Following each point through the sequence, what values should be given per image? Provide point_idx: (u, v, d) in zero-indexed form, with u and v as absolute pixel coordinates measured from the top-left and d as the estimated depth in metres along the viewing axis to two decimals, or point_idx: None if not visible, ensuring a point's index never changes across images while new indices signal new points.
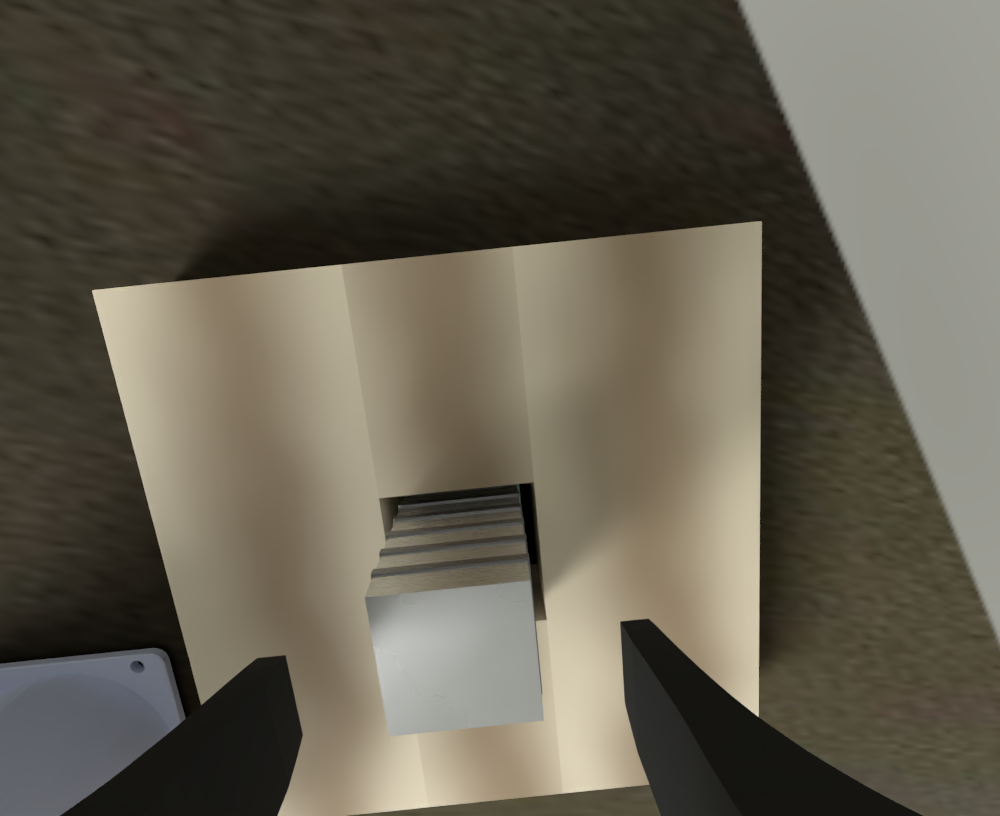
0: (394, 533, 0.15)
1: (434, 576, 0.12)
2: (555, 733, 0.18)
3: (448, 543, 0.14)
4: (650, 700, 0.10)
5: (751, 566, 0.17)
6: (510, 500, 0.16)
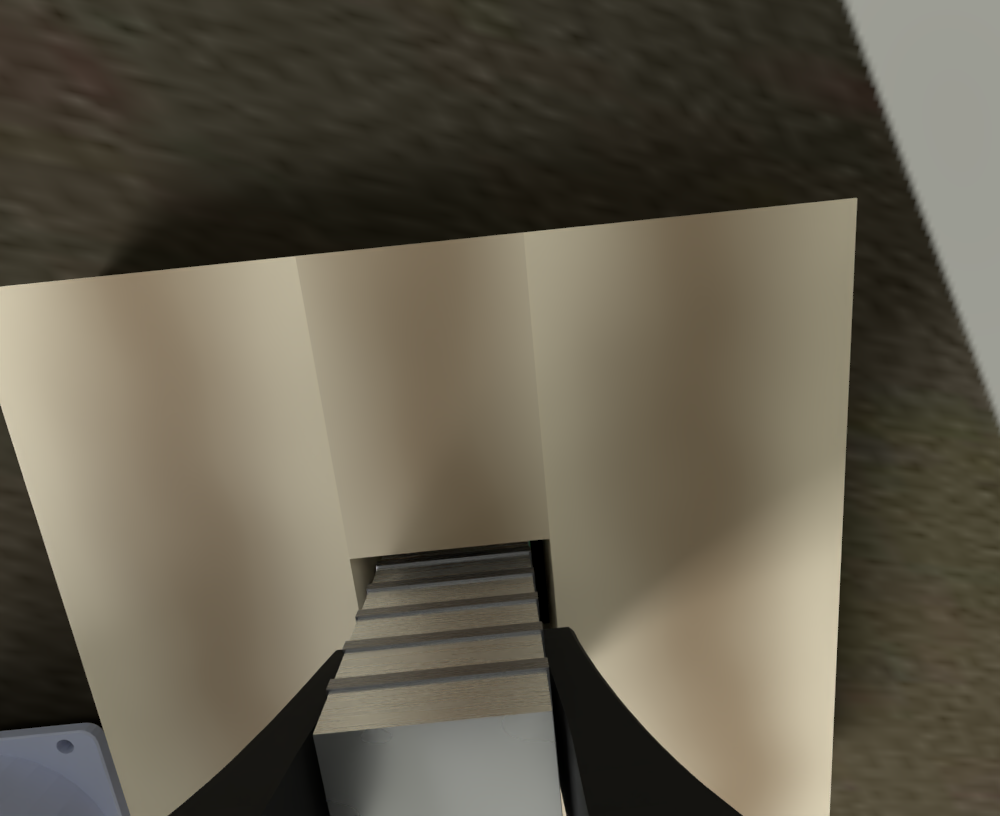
0: (366, 613, 0.11)
1: (414, 696, 0.09)
2: None
3: (436, 634, 0.10)
4: (555, 709, 0.10)
5: (826, 643, 0.13)
6: (519, 561, 0.12)
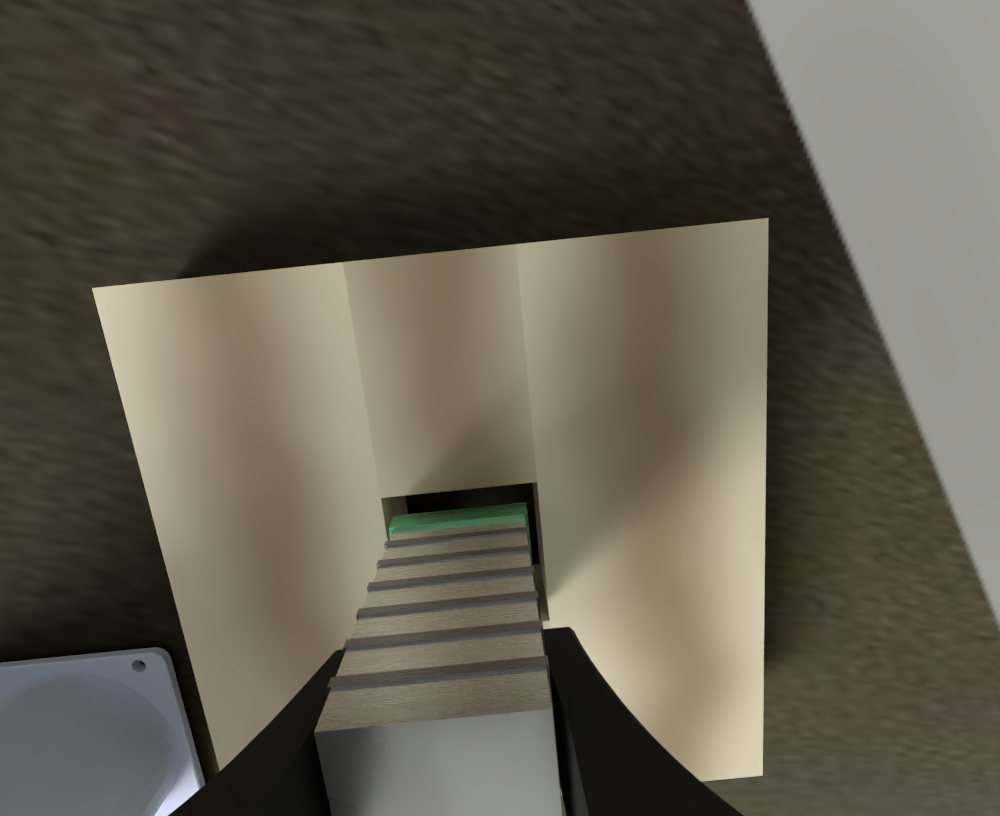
0: (367, 611, 0.11)
1: (415, 694, 0.09)
2: None
3: (437, 632, 0.10)
4: (556, 709, 0.10)
5: (756, 567, 0.17)
6: (520, 560, 0.13)
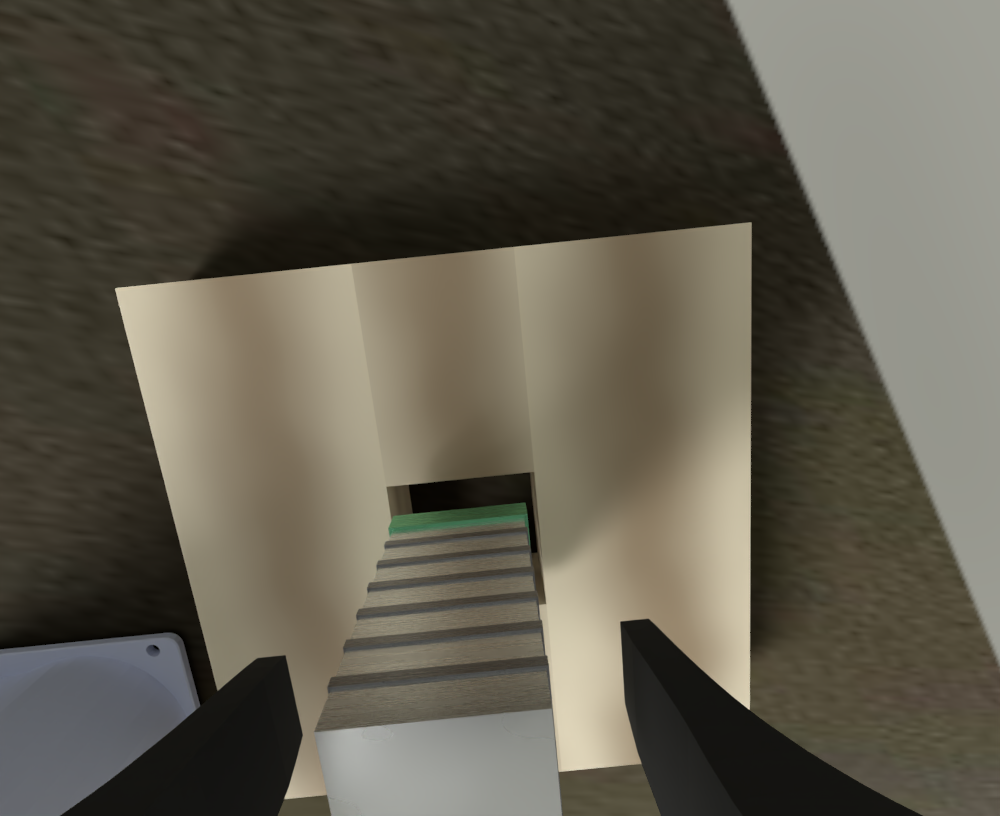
0: (367, 612, 0.11)
1: (415, 694, 0.09)
2: (554, 713, 0.19)
3: (437, 633, 0.10)
4: (650, 700, 0.10)
5: (742, 553, 0.18)
6: (519, 560, 0.13)
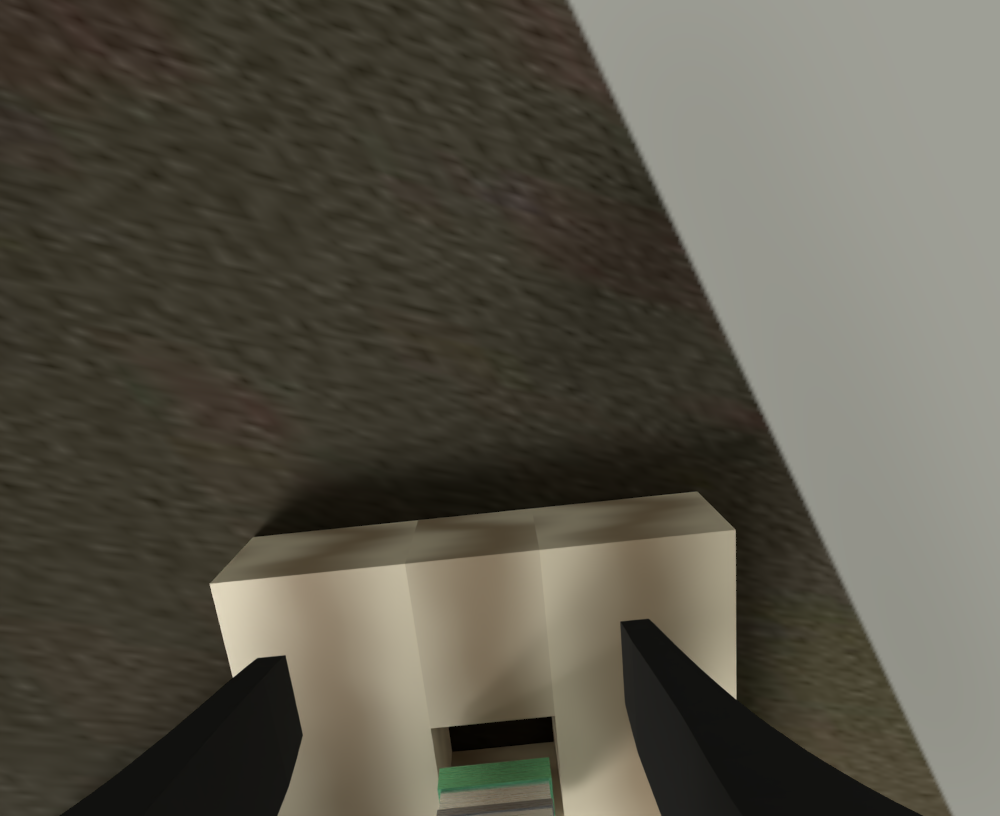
0: None
1: None
2: None
3: None
4: (650, 700, 0.10)
5: None
6: None
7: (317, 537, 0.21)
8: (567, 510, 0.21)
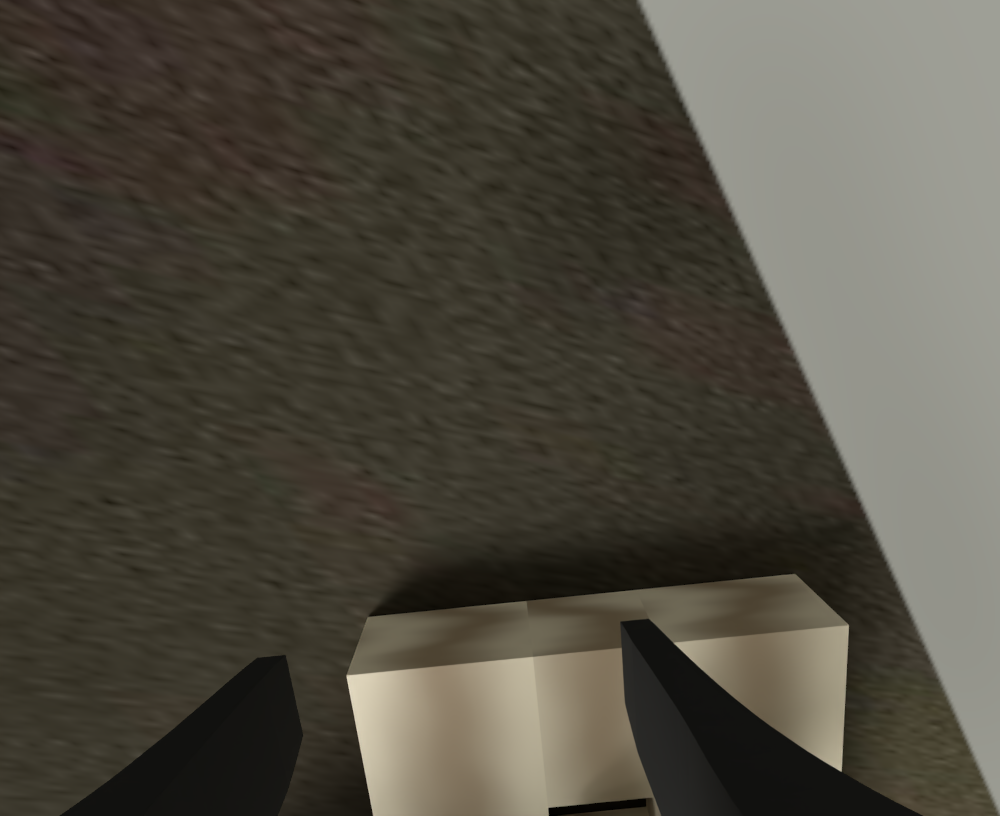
0: None
1: None
2: None
3: None
4: (650, 700, 0.10)
5: None
6: None
7: (432, 619, 0.22)
8: (672, 593, 0.22)
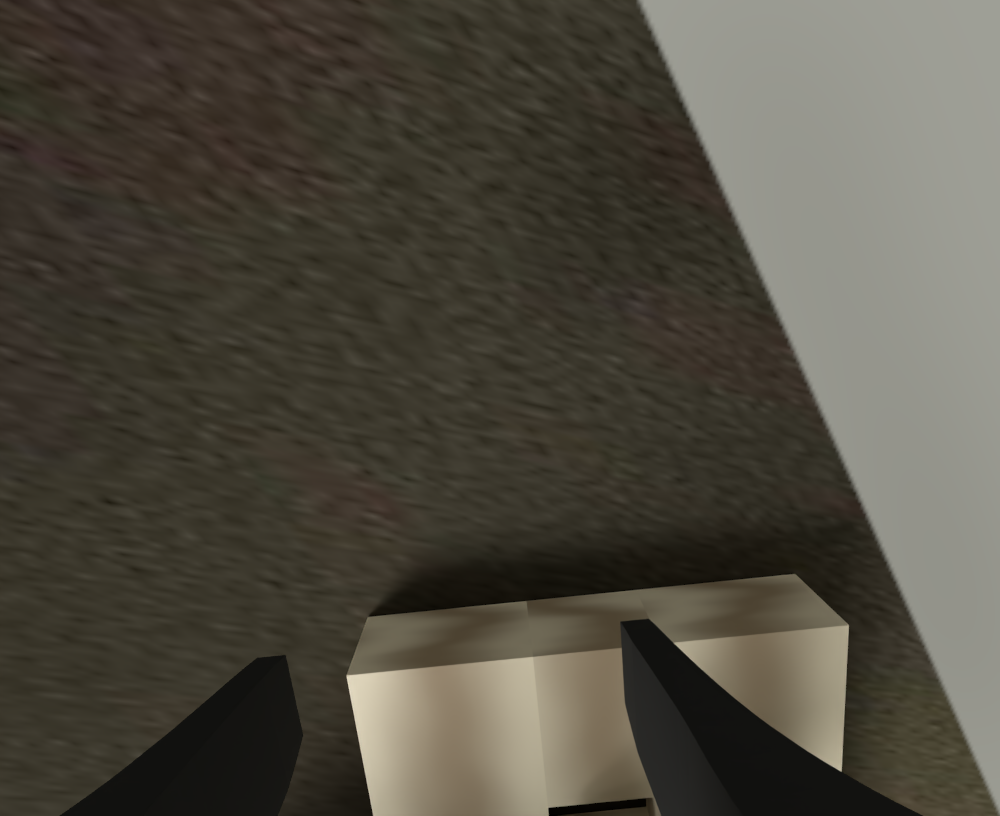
0: None
1: None
2: None
3: None
4: (650, 700, 0.10)
5: None
6: None
7: (432, 619, 0.22)
8: (672, 593, 0.22)
